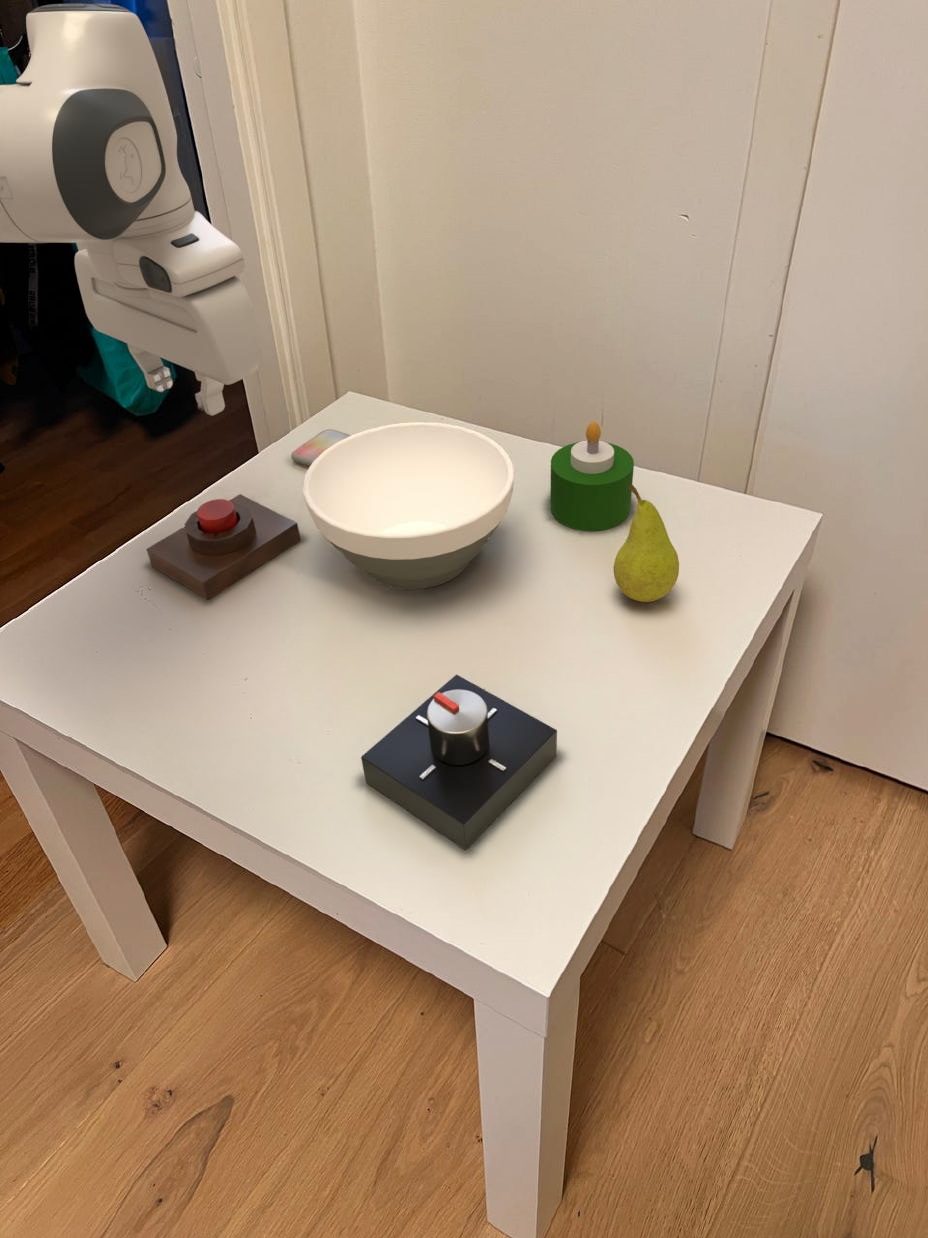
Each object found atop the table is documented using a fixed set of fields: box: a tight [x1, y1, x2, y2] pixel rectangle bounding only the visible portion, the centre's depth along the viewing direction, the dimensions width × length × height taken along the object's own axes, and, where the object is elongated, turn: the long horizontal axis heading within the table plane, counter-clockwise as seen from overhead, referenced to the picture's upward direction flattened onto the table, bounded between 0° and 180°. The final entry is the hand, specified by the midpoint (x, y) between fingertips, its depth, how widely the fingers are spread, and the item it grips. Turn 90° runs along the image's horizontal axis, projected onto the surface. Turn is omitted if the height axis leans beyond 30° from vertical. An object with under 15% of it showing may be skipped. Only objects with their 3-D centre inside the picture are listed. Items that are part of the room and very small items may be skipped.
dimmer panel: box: [360, 674, 558, 851], centre depth 71 cm, size 11×10×3 cm
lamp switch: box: [145, 493, 302, 601], centre depth 94 cm, size 12×9×4 cm
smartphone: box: [291, 428, 353, 467], centre depth 106 cm, size 7×1×15 cm
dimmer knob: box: [427, 689, 489, 765], centre depth 69 cm, size 4×4×4 cm
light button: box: [196, 498, 238, 534], centre depth 92 cm, size 4×4×2 cm
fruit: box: [613, 483, 680, 603], centre depth 83 cm, size 6×6×12 cm
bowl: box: [302, 421, 515, 590], centre depth 90 cm, size 20×20×10 cm
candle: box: [549, 421, 635, 532], centre depth 95 cm, size 8×8×10 cm
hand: (186, 399), depth 84 cm, fingers open, 6 cm apart
